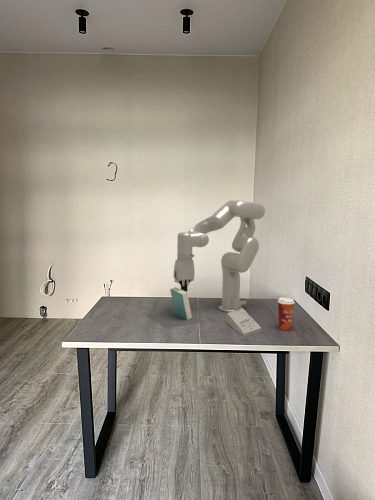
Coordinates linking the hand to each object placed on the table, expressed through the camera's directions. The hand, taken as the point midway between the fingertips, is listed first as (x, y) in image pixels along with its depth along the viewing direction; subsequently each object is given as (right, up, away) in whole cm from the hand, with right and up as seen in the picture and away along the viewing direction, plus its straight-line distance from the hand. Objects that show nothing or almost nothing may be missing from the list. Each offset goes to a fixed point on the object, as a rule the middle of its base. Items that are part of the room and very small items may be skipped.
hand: (184, 293), depth 190 cm
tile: (0, -12, +2) cm, 12 cm away
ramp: (+28, -15, -10) cm, 34 cm away
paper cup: (+48, -15, -12) cm, 52 cm away
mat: (-5, -13, -1) cm, 14 cm away
